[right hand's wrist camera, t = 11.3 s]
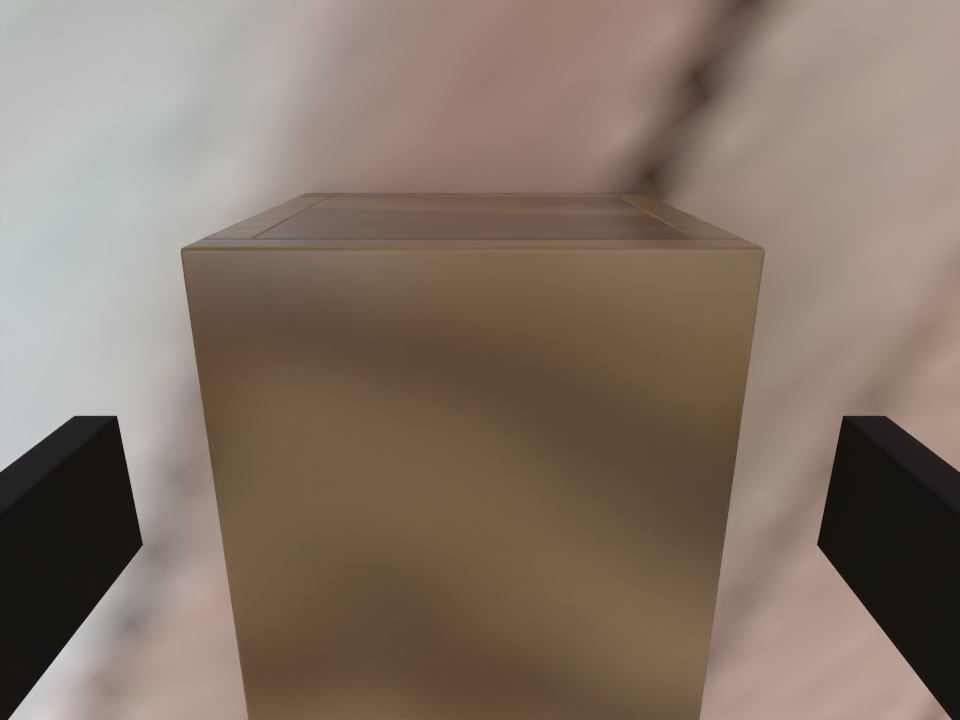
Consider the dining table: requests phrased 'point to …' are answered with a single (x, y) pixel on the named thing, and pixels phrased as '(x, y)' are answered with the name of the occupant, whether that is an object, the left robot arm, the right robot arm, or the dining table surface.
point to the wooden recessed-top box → (473, 450)
